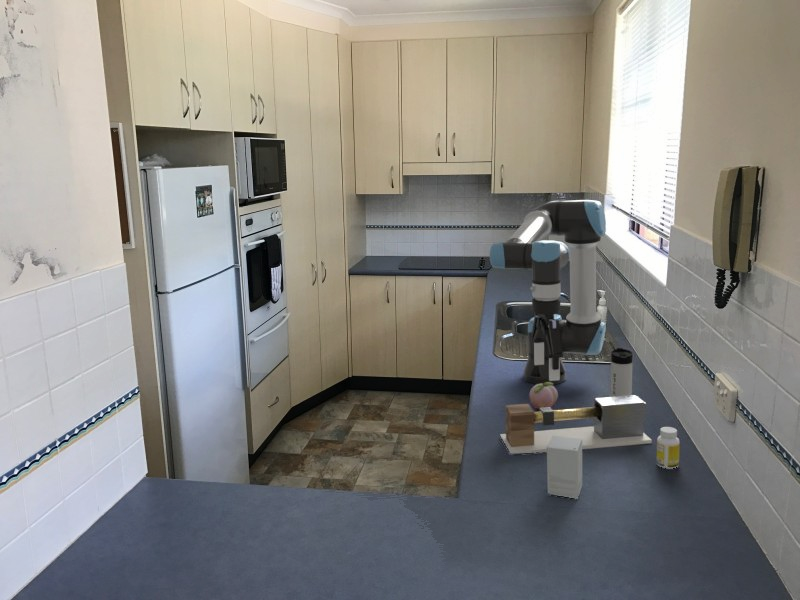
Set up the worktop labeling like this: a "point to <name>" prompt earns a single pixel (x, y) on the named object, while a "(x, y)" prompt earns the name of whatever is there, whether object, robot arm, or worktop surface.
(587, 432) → the base board
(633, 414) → the metal sleeve
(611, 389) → the travel mug
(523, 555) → the worktop surface
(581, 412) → the brass rod
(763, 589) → the worktop surface
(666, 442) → the supplement bottle
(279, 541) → the worktop surface
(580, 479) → the supplement box
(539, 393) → the decorative fruit
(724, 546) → the worktop surface
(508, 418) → the walnut socket
